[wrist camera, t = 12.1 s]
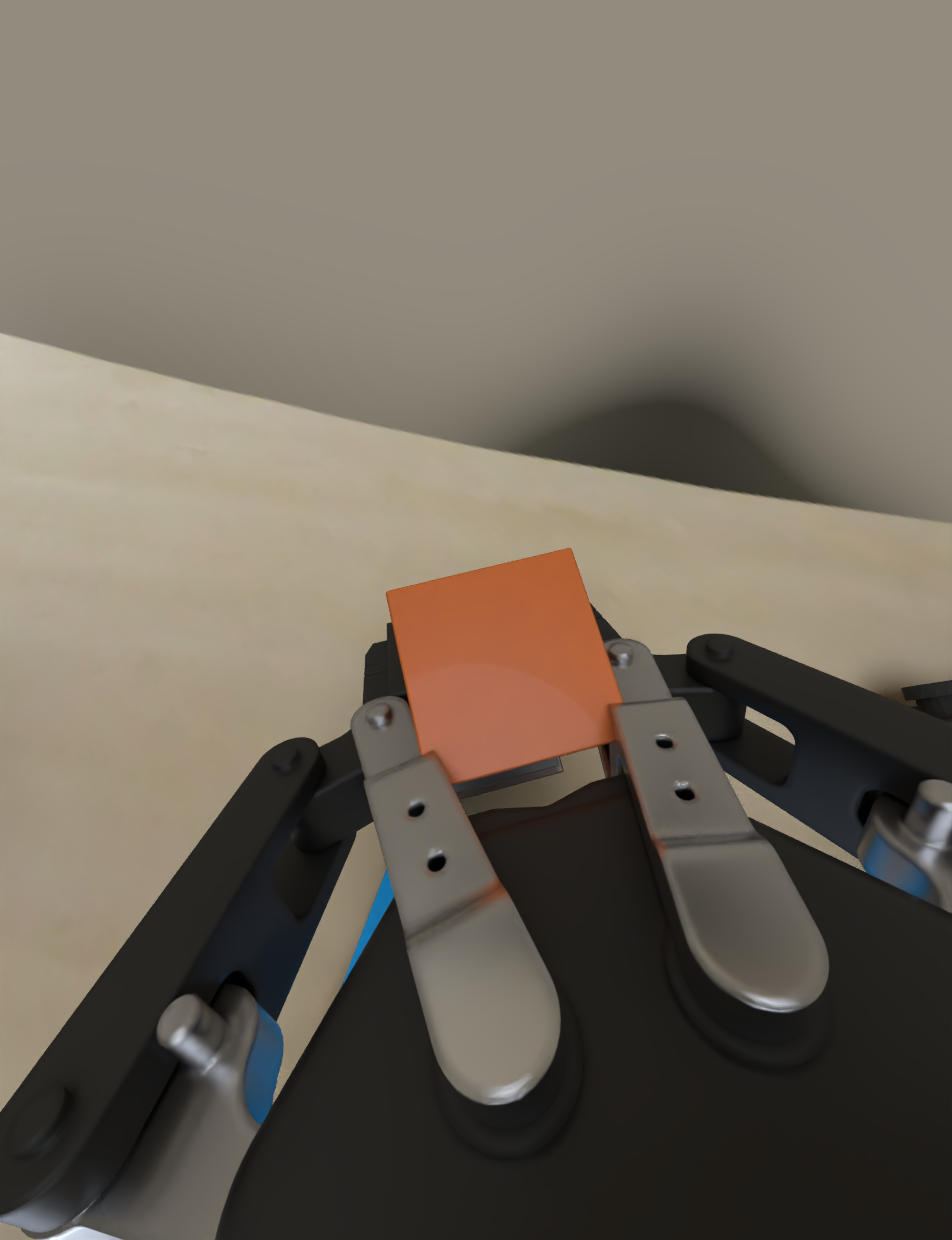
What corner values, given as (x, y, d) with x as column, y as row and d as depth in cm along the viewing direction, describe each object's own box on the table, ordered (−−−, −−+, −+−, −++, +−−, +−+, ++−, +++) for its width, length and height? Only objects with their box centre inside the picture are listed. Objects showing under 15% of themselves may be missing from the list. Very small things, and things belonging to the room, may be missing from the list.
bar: (453, 770, 16) (427, 792, 8) (430, 671, 17) (384, 590, 9) (551, 744, 16) (635, 736, 8) (523, 648, 17) (571, 546, 9)
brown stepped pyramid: (441, 801, 29) (430, 816, 22) (415, 684, 31) (398, 665, 24) (556, 769, 29) (580, 775, 22) (524, 656, 31) (537, 630, 24)
